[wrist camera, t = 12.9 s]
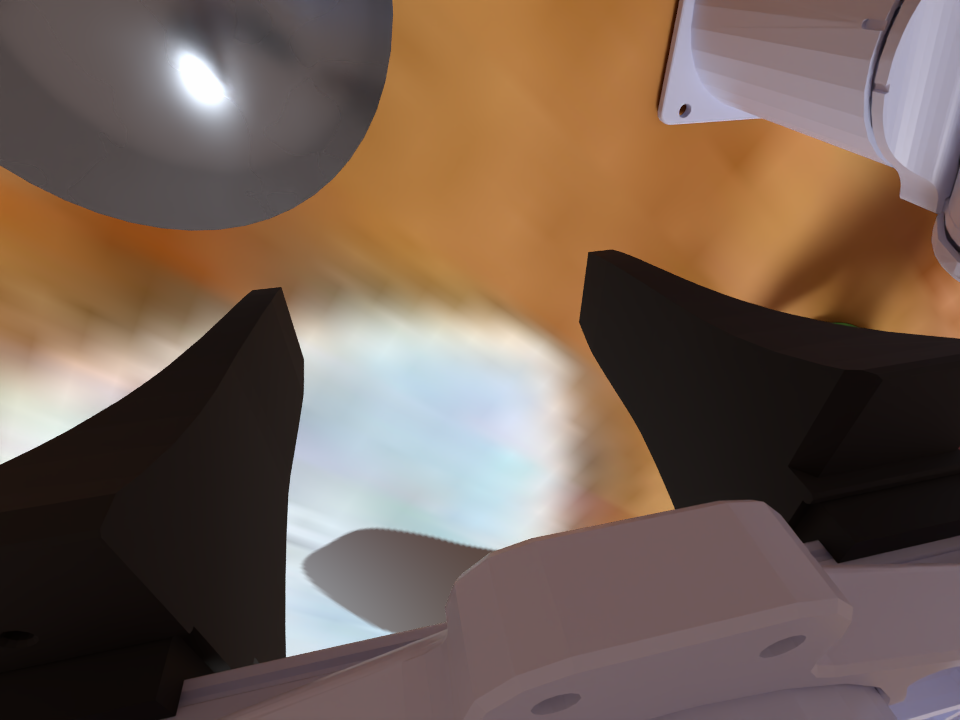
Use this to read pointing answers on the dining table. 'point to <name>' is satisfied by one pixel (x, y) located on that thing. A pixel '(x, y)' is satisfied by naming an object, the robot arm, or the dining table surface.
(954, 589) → the robot arm
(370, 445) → the dining table surface
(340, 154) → the balance
